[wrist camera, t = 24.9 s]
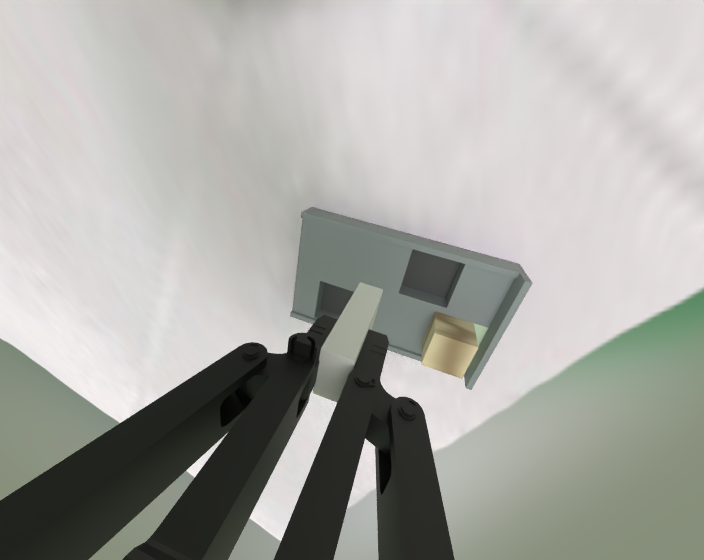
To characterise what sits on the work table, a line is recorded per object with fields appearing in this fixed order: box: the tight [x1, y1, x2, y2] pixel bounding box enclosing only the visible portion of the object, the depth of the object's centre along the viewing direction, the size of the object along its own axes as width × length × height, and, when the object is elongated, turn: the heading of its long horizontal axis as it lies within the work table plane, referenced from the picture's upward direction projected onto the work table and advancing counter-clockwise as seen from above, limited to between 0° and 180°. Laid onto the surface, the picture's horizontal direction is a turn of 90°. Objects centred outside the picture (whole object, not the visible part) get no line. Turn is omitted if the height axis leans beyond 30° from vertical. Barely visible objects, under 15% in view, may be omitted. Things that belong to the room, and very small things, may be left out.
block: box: [421, 311, 479, 379], centre depth 39 cm, size 6×6×6 cm
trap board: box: [290, 207, 532, 390], centre depth 41 cm, size 30×18×6 cm, turn 78°
